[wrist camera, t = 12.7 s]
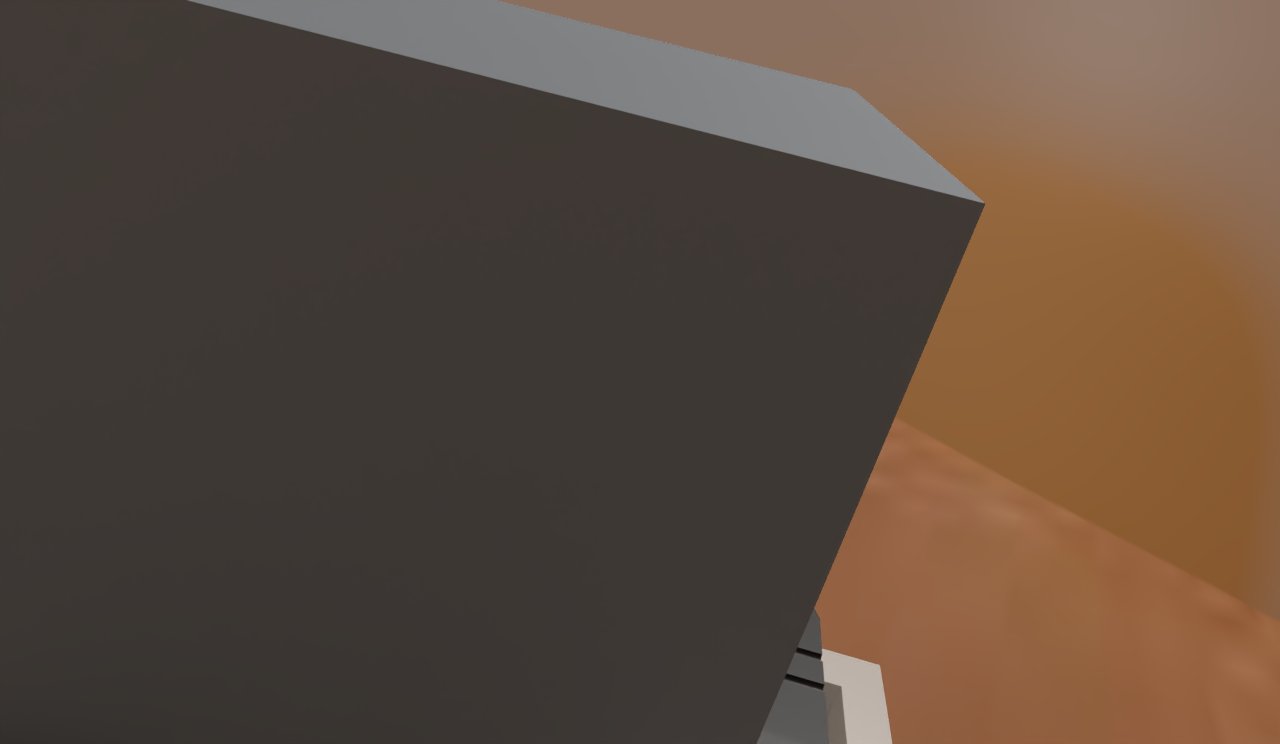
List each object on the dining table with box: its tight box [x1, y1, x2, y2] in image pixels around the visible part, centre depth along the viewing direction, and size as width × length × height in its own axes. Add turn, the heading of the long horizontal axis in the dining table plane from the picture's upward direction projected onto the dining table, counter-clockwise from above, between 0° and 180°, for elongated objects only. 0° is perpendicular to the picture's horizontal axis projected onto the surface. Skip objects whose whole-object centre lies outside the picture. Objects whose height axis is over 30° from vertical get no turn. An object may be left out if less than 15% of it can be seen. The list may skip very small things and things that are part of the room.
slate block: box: [0, 0, 985, 744], centre depth 8 cm, size 5×5×14 cm
